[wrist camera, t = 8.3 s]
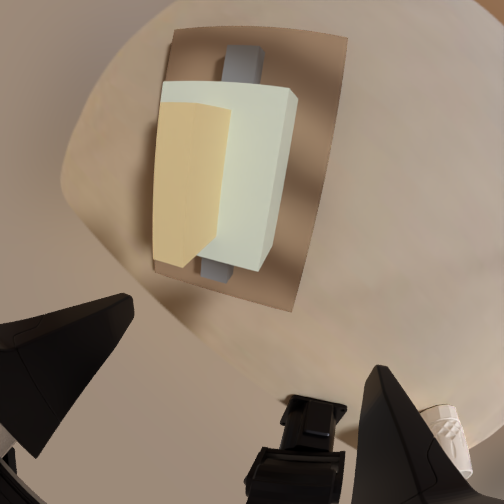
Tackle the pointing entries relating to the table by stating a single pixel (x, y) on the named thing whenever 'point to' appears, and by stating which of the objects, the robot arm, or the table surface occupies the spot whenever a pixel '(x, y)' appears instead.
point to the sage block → (220, 170)
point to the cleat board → (301, 150)
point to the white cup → (449, 435)
